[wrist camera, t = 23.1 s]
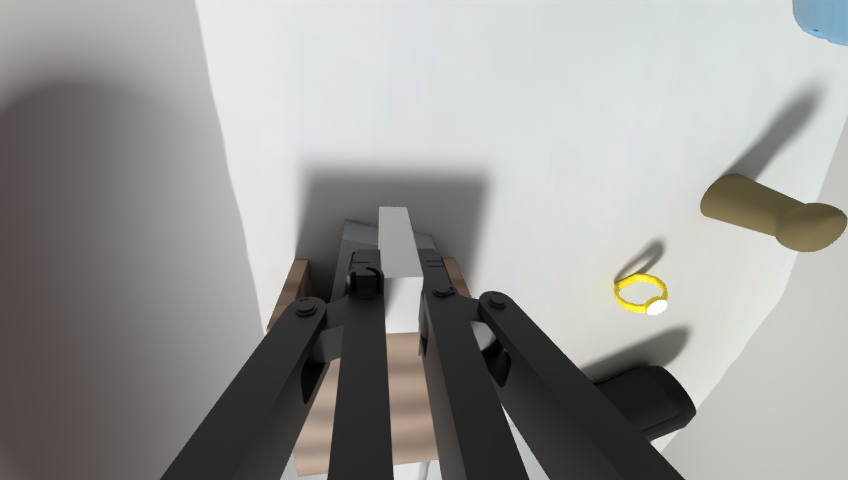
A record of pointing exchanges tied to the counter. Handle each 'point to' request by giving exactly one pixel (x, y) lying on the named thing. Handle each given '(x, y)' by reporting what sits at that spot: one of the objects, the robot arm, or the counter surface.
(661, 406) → the portable speaker
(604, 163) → the counter surface
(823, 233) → the cork
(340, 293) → the tray
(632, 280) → the watch
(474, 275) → the counter surface
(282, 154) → the counter surface
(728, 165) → the counter surface
